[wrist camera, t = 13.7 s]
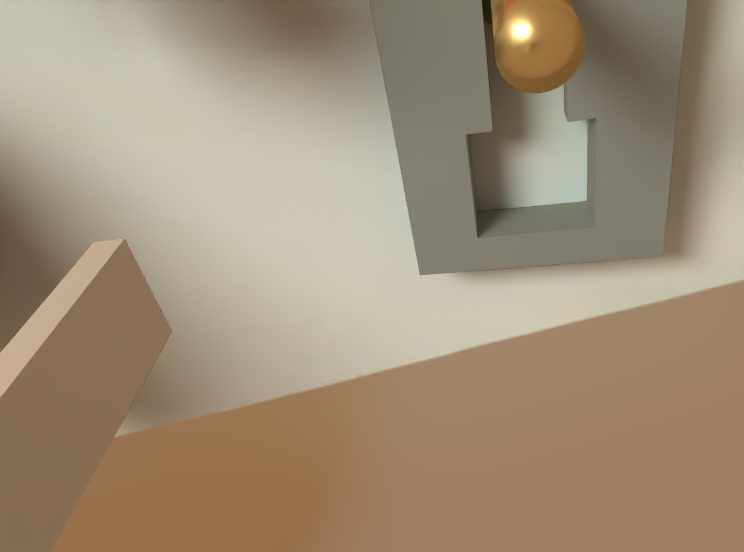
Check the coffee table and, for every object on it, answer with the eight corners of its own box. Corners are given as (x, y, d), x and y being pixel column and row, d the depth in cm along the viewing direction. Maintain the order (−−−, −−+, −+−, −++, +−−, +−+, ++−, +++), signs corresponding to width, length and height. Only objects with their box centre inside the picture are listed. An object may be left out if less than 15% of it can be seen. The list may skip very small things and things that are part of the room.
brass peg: (468, 31, 34) (465, 136, 23) (457, -83, 31) (447, -24, 20) (573, 14, 33) (622, 116, 22) (573, -106, 30) (630, -56, 19)
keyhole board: (423, 248, 44) (420, 275, 41) (351, -162, 30) (340, -159, 27) (651, 228, 40) (663, 256, 38) (688, -243, 27) (710, -248, 24)
